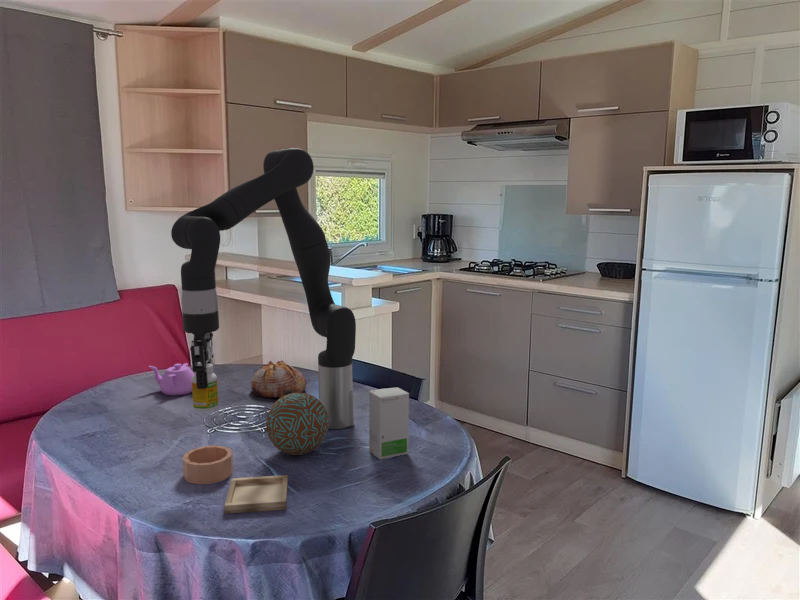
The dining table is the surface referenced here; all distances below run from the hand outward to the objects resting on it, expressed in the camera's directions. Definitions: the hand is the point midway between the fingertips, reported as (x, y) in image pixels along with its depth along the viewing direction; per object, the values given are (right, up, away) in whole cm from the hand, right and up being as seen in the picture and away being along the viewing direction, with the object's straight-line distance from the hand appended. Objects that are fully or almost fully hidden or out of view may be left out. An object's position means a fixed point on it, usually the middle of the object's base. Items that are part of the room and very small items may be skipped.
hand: (204, 383), depth 139 cm
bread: (+4, -11, +63) cm, 64 cm away
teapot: (-28, -11, +63) cm, 69 cm away
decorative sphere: (+18, -19, +15) cm, 31 cm away
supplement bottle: (0, -6, +1) cm, 6 cm away
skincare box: (+40, -19, +15) cm, 47 cm away
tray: (+13, -23, -7) cm, 28 cm away
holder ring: (0, -21, +4) cm, 21 cm away
